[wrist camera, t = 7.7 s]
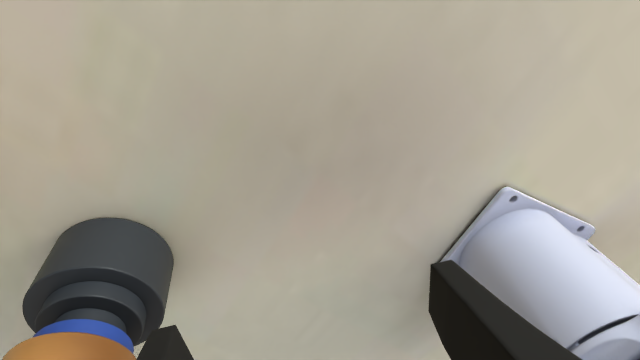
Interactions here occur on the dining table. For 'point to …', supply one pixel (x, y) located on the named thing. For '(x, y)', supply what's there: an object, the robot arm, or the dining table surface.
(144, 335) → the dark grey cylinder
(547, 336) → the robot arm
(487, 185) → the dining table surface
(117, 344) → the orange brown short cylinder
